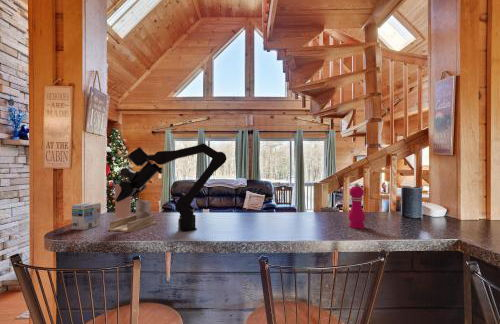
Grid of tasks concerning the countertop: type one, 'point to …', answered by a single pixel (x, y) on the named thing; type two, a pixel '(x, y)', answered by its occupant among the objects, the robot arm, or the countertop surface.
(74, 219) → the light bulb box
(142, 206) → the book trough
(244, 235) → the countertop surface
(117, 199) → the robot arm
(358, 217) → the pepper mill
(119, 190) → the salmon pink rectangular block
